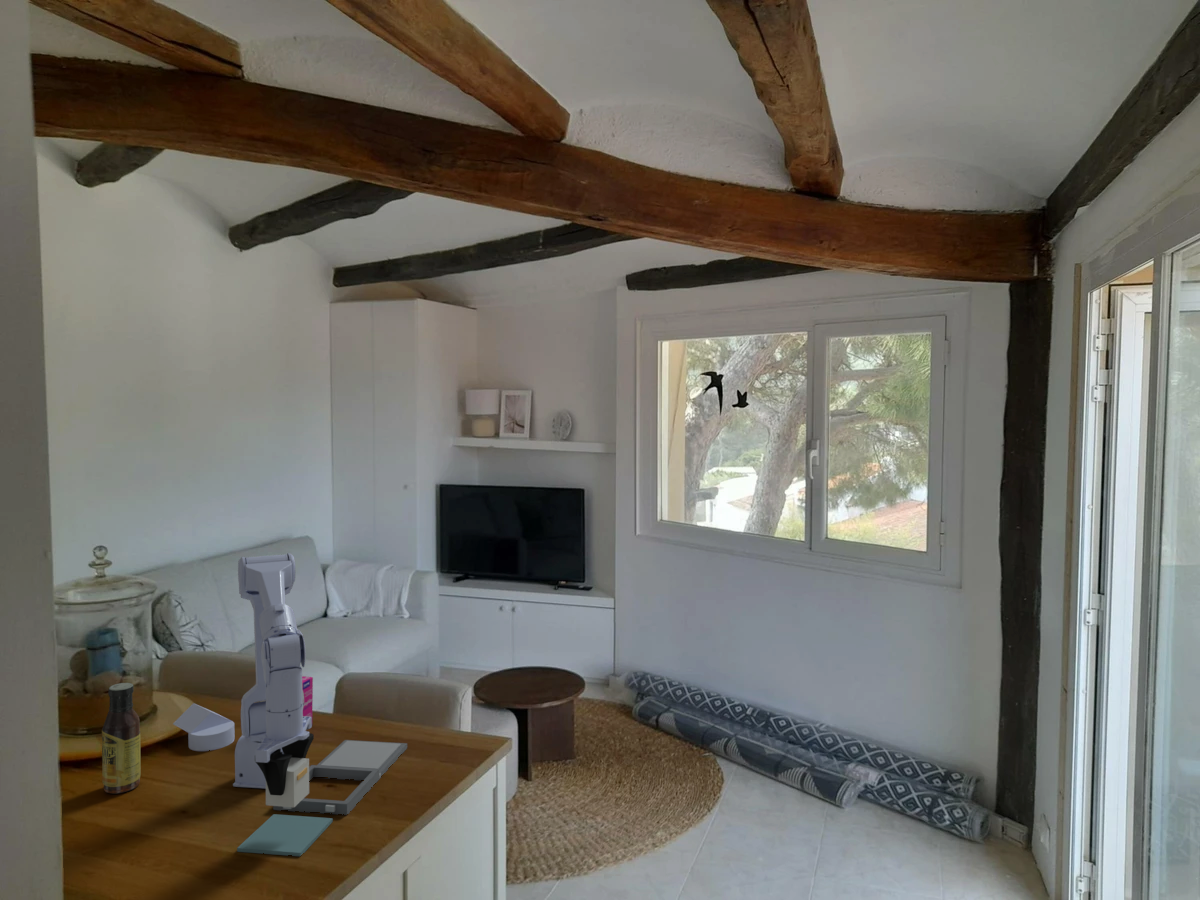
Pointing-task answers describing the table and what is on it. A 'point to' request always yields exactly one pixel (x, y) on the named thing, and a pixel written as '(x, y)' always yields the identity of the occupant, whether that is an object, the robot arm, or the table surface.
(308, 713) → the supplement box
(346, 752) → the case
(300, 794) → the block
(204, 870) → the table surface
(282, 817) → the mat
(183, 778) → the table surface
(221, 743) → the wedge on round base
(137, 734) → the sauce bottle
